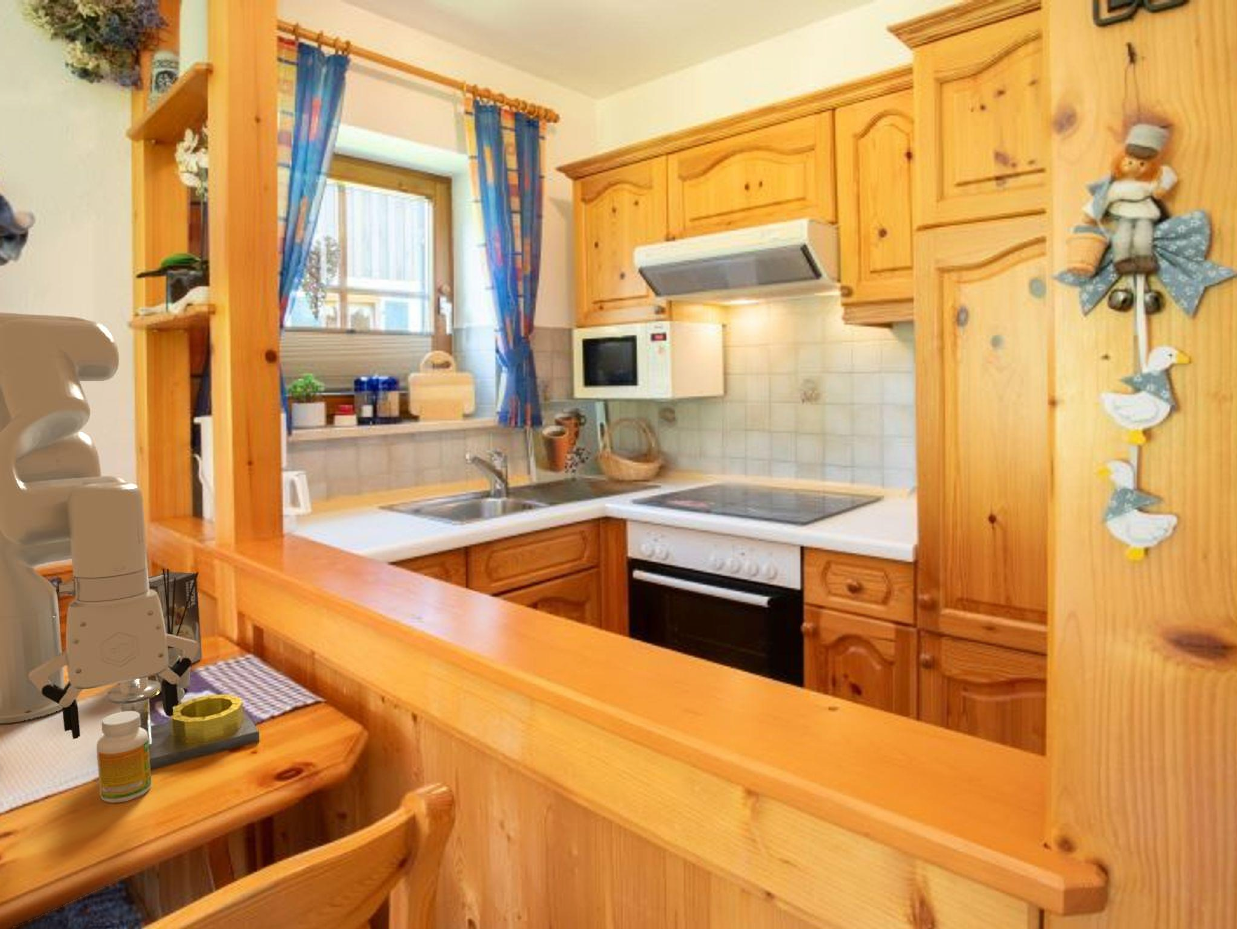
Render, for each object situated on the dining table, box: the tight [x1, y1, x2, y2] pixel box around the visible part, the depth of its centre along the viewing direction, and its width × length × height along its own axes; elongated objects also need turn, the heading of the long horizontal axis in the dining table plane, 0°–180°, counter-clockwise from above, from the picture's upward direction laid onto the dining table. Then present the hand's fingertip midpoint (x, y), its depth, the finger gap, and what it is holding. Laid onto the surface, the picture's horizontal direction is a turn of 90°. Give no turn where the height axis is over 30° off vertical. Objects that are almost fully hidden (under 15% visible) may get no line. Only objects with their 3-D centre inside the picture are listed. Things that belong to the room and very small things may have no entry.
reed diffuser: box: [155, 568, 199, 702], centre depth 127 cm, size 10×7×20 cm
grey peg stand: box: [107, 677, 260, 771], centre depth 109 cm, size 17×11×14 cm, turn 128°
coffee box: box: [149, 571, 203, 677], centre depth 138 cm, size 9×6×16 cm
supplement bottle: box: [96, 711, 152, 804], centre depth 97 cm, size 5×5×10 cm
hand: (123, 723), depth 96 cm, fingers open, 9 cm apart
